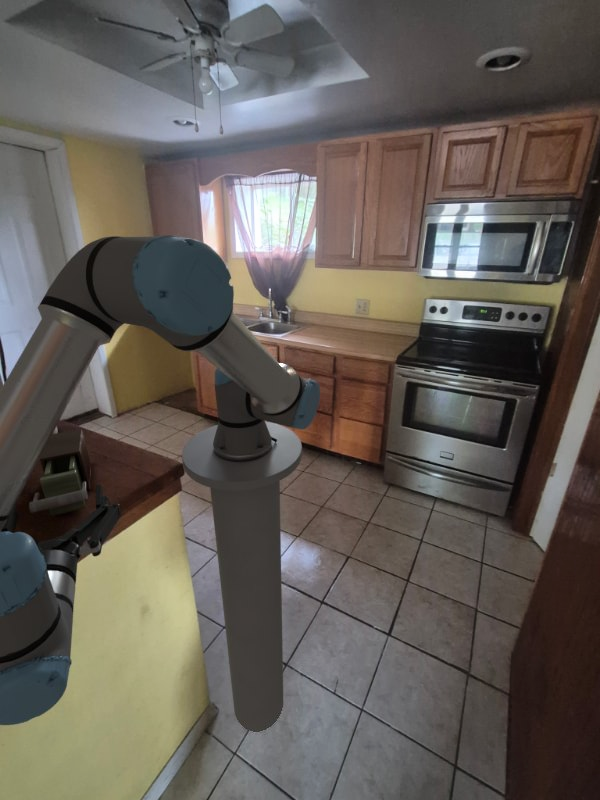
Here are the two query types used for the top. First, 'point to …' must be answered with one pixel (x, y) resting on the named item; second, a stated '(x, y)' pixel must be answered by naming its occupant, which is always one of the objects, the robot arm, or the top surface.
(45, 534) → the top surface
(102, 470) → the top surface
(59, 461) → the drawer
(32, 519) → the top surface
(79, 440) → the cabinet
